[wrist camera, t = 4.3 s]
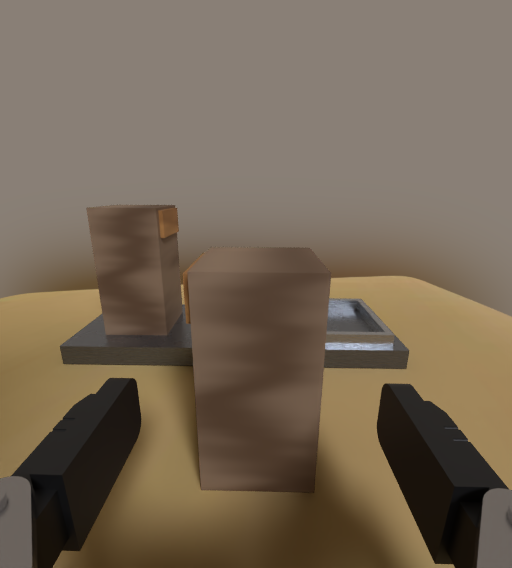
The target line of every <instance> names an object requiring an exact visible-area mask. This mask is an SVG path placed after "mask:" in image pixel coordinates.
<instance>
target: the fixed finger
mask: <svg viewBox="0 0 512 568" xmlns="http://www.w3.org/2000/svg"><path fill="white" fill-rule="evenodd" d="M87 215H88V221H89V227H90V234H91V241H92V247H93V254H94V261H95V267H96V273H97V280H98V287H99V293H100V300H101V306H102V313H103V319H104V326H105V333H106V335H168V333H169V332H170V330H171V329H172V327H173V326H174V324H175V323H176V321H177V320H178V318H179V317H180V315H181V314H182V312H183V311H182V297H181V283H180V270H179V256H178V241H177V232H178V231H179V229H178V217H177V216H178V215H177V208H175V205H111V206H100V207H89V208H87Z"/></svg>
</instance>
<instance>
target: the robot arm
mask: <svg viewBox="0 0 512 568" xmlns="http://www.w3.org/2000/svg"><path fill="white" fill-rule="evenodd" d="M140 427H141V412H140V405H139V397H138V389H137V383H136V380H135V379H134V378H109V379H108V380H107V381H106V382H105V383H104V385H103V386H102V387H101V388H100V389H99V391H98V392H97V393H96V394H90V395H88V396H87V397H85V398H84V399H82V400H81V401H79V402H78V403H76V404H75V405H74V406H73V407H72V408H71V409H70V410H69V411H68V413H67V414H66V415H65V416H64V417H63V420H60V422H59V423H58V424H57V425H56V426H55V427H54V428H53V431H52V432H50V433H49V434H48V435H47V436H46V437H45V438H44V440H43V441H42V442H41V443H40V444H39V445H38V446H37V447H36V449H35V450H34V451H33V452H32V453H31V454H30V455H29V456H28V458H27V459H26V460H25V461H24V462H23V463H22V464H21V465H20V467H19V468H18V469H17V470H16V471H15V472H14V473H13V475H12V476H10V477H5V478H1V479H0V568H53V565H54V564H55V562H56V560H57V558H58V556H59V555H60V553H61V551H62V550H66V551H80V550H81V548H82V546H83V544H84V542H85V540H86V538H87V536H88V534H89V532H90V530H91V528H92V526H93V524H94V522H95V520H96V518H97V516H98V515H99V513H100V511H101V509H102V507H103V505H104V503H105V501H106V499H107V497H108V495H109V493H110V491H111V489H112V487H113V485H114V483H115V481H116V479H117V477H118V475H119V473H120V472H121V470H122V468H123V466H124V464H125V462H126V460H127V458H128V456H129V454H130V452H131V450H132V448H133V446H134V444H135V442H136V440H137V438H138V435H139V432H140ZM377 433H378V439H379V442H380V445H381V447H382V450H383V452H384V454H385V456H386V458H387V460H388V463H389V465H390V467H391V469H392V471H393V473H394V476H395V478H396V480H397V482H398V484H399V487H400V489H401V491H402V493H403V495H404V497H405V500H406V502H407V504H408V506H409V508H410V510H411V513H412V515H413V517H414V519H415V521H416V524H417V526H418V528H419V530H420V532H421V534H422V537H423V539H424V541H425V543H426V545H427V547H428V550H429V552H430V554H431V556H432V558H433V561H434V563H435V564H454V566H455V568H512V490H509V489H508V487H507V486H506V485H505V484H504V483H503V481H502V480H501V479H500V478H499V476H498V475H497V474H496V473H495V472H494V470H493V469H492V468H491V467H490V466H489V464H488V463H487V462H486V461H485V459H484V458H483V457H482V456H481V455H480V453H479V452H478V451H477V450H476V448H475V447H474V446H473V445H472V444H471V442H468V439H467V438H466V436H465V435H464V434H463V433H462V431H461V430H458V427H457V425H456V424H455V423H454V422H453V421H452V419H451V418H450V417H449V416H448V414H447V413H446V412H444V411H443V410H441V409H440V408H439V407H437V406H436V405H435V404H433V403H432V402H430V401H423V399H422V398H421V397H420V395H419V394H418V393H417V391H416V390H415V389H414V387H413V386H412V385H410V384H384V385H383V387H382V392H381V399H380V406H379V413H378V420H377Z"/></svg>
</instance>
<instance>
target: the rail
mask: <svg viewBox="0 0 512 568" xmlns="http://www.w3.org/2000/svg"><path fill="white" fill-rule="evenodd" d="M182 311H183V312H182V314H181V315H180V317H179V318H178V320H177V321H176V323H175V324H174V326H173V327H172V329H171V330H170V332H169V333H168V335H106V333H105V326H104V319H103V314H101V315H100V316H99V317H97V318H96V319H95V320H93V321H92V322H91V323H89V324H88V325H87V326H86V327H84V328H83V329H82V330H80V331H79V332H78V333H76V334H75V335H74V336H72V337H71V338H70V339H68V340H67V341H66V342H65V343H63V344H62V345H61V346H60V350H61V355H62V360H63V364H115V365H186V366H193V353H192V337H191V324H186V314H185V305H182ZM408 356H409V350H408V349H407V348H406V347H405V345H404V344H403V343H402V342H401V341H400V340H399V339H398V338H397V337H396V336H395V335H394V334H393V332H392V331H391V330H390V329H389V328H388V327H387V326H386V325H385V324H384V323H383V322H382V321H381V319H380V318H379V317H378V316H377V315H376V314H375V313H374V312H373V311H372V310H371V309H370V308H369V307H368V306H367V305H366V304H365V302H364V301H363V300H362V299H329V307H328V319H327V332H326V345H325V358H324V367H329V368H400V369H406V368H407V362H408Z"/></svg>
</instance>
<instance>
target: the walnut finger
mask: <svg viewBox="0 0 512 568" xmlns="http://www.w3.org/2000/svg"><path fill="white" fill-rule="evenodd" d="M330 281H331V272H330V271H329V270H328V269H327V268H326V267H325V265H324V264H323V263H322V262H321V261H320V259H319V258H318V257H317V256H316V255H315V253H314V252H313V251H312V250H311V249H310V248H271V247H270V248H269V247H266V248H265V247H264V248H263V247H210V248H209V249H208V251H206V252H205V253H202V254H201V256H199V258H198V259H197V260H196V261H195V262H194V263H193V264H192V265H191V266H190V267H189V268H188V269H187V270H186V271H185V272H184V273H183V285H184V299H185V314H186V324H191V337H192V353H193V369H194V385H195V401H196V417H197V433H198V448H199V464H200V480H201V490H226V491H272V492H314V487H315V474H316V461H317V448H318V435H319V422H320V410H321V397H322V384H323V371H324V358H325V345H326V332H327V319H328V307H329V294H330Z"/></svg>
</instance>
